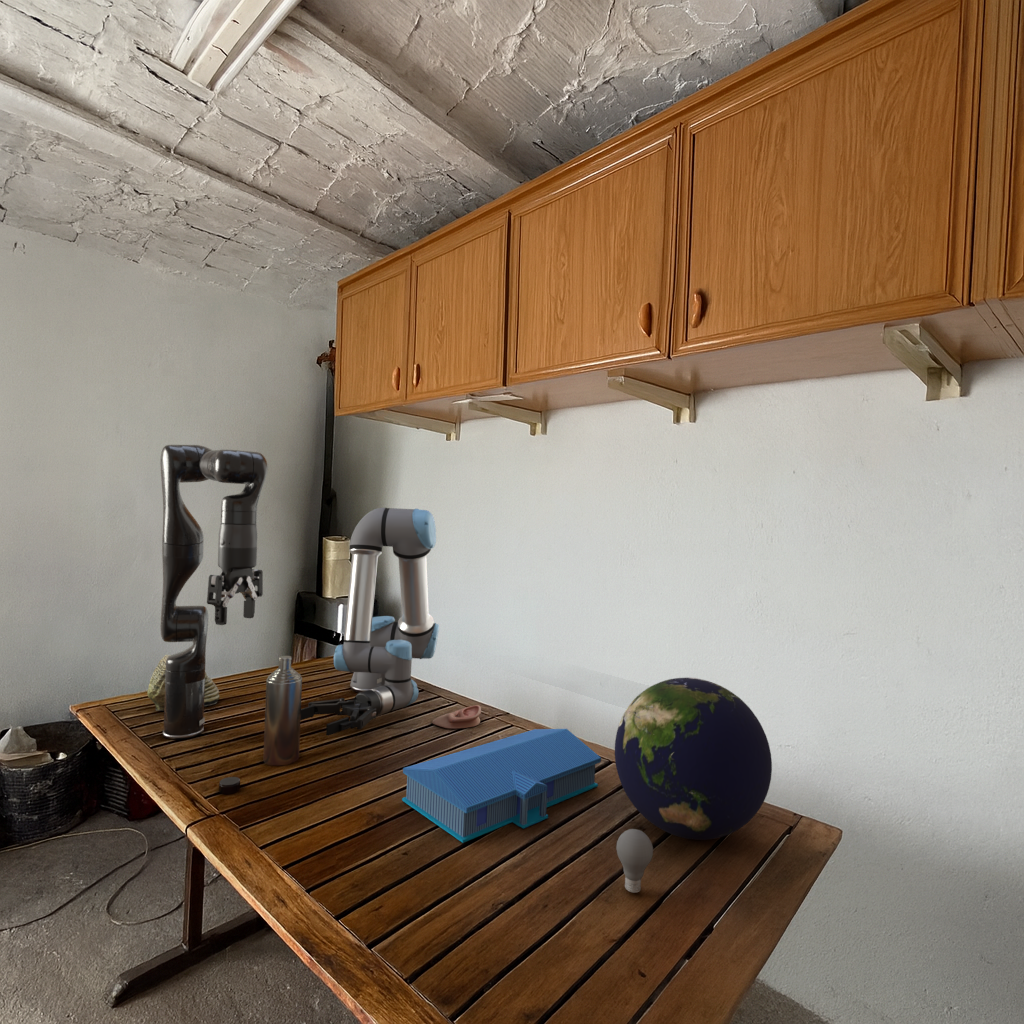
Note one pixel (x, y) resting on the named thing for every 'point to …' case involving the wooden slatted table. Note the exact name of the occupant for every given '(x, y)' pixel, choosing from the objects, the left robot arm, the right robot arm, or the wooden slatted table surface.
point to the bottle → (282, 715)
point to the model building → (501, 782)
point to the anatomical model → (460, 718)
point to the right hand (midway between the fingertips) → (309, 723)
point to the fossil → (158, 687)
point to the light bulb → (634, 857)
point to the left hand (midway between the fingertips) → (235, 621)
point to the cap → (229, 785)
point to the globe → (693, 758)
